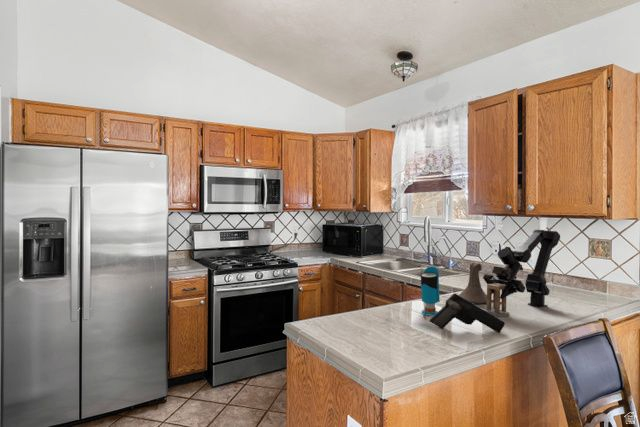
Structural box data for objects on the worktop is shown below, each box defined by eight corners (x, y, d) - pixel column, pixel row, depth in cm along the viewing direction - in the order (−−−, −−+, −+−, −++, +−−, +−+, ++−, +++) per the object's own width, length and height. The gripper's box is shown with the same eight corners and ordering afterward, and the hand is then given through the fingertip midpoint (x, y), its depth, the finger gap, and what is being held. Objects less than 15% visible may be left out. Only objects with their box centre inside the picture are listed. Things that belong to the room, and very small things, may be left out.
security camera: (416, 267, 170) (427, 265, 178) (416, 313, 171) (426, 309, 178) (434, 269, 165) (444, 267, 172) (433, 317, 165) (443, 312, 172)
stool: (495, 308, 176) (495, 283, 176) (506, 311, 171) (506, 285, 170) (486, 310, 173) (487, 284, 173) (497, 313, 168) (498, 286, 168)
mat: (494, 309, 179) (494, 307, 179) (515, 315, 169) (515, 313, 169) (478, 311, 175) (478, 310, 175) (498, 318, 165) (498, 316, 165)
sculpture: (497, 301, 194) (498, 263, 194) (478, 306, 184) (479, 266, 184) (468, 295, 208) (469, 259, 207) (449, 299, 198) (450, 261, 198)
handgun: (485, 355, 146) (505, 323, 144) (430, 321, 150) (449, 290, 149) (483, 352, 149) (504, 321, 147) (429, 320, 153) (448, 289, 151)
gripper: (485, 257, 182) (469, 282, 177) (521, 262, 165) (505, 290, 160) (496, 272, 185) (480, 296, 181) (532, 278, 169) (516, 306, 164)
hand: (494, 296), depth 171 cm, fingers closed on stool, 6 cm apart
